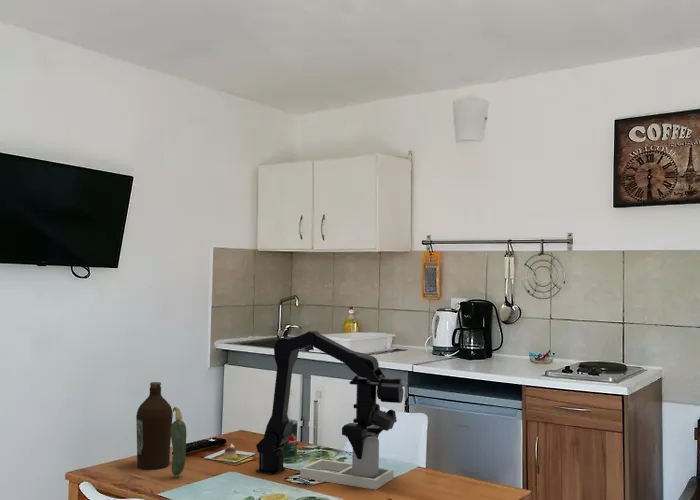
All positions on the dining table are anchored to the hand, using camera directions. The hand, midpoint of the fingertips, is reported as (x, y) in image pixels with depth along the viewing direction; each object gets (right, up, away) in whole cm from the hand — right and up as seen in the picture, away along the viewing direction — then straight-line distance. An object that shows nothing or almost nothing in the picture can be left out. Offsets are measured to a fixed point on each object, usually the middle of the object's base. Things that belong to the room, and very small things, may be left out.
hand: (365, 456), depth 190 cm
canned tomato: (-26, -8, +26) cm, 38 cm away
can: (0, -6, 0) cm, 6 cm away
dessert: (-43, -9, +24) cm, 50 cm away
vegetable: (-54, -7, 0) cm, 54 cm away
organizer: (-5, -7, +2) cm, 9 cm away
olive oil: (-64, -7, +13) cm, 66 cm away
